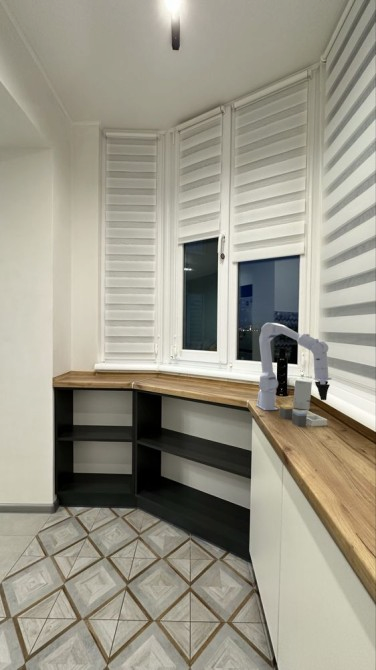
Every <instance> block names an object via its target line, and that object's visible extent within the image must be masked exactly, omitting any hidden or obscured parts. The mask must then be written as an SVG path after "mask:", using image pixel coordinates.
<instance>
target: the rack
mask: <svg viewBox="0 0 376 670" xmlns="http://www.w3.org/2000/svg"><path fill="white" fill-rule="evenodd" d="M302 411H303V412H305V413H307V418H306V425H308V426H311V427H320V426H323V425H324V426H328V419H327V418H324V417H322V416H320V415H318V414H316V413H314V412H311V411H310V410H305V409H302ZM292 417H293V413H292ZM324 426H323V427H324Z"/></svg>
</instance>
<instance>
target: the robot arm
mask: <svg viewBox="0 0 376 670" xmlns="http://www.w3.org/2000/svg"><path fill="white" fill-rule="evenodd" d="M260 329H261V331H260V334H259V337H258V340H259V341H258V342H259V352H260V362H261V372H262V373H261V374H260V376H259V382H258V388H259V389H260V390H258V393H257V403H256V404H255V406H256V407H258V408H260V409H262V410H263V411H278V410H279V408H277V407H276V395H277V393H276V392H277V389H278V387H279V381H278V378H277V375H276V373H275V372H274V368H273V367H274V366H273V357H272V349H271V341H272V340H273V339H274V338H275V337H277V336H279V335H285V336H287V337H289V338H291V339H293V340H295V341H296V342H297V344H298V345H299V346H301V347H303V348H305V349H307V350H309V351H310V352H311V353H312V355H313V357H312V358H313V369H314V370H313V371H314V378H313V379H314V384H315V387H316V388H317V392H318V395H319V399H320V401H326V400H327V398H328V397H327V396H328V391H329V387H330V386H331V385H330V384H329V381H331V380H332V377H329V365H328V356H327V355H328V354H327V353H328V351H329V346H328V344H327V343H326V342H325V341H319V338H314V337H313V336H310V334H309V333H302V334H300V333H298V332H296V331H294V330H293V329H291V328H289V327H288V326H286V325H284V324H281V323H279V322H266V323H264V324H263V325H262V326H261V328H260Z"/></svg>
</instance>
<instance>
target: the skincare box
mask: <svg viewBox="0 0 376 670" xmlns="http://www.w3.org/2000/svg"><path fill="white" fill-rule="evenodd" d="M312 386H313V381H312V380H309V379H301V378H295V383H294V391H293V392H294V393H293V401H292V402H293V404H292V407H293V409H298V410H307V411H310V407H311V396H312Z"/></svg>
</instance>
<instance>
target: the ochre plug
mask: <svg viewBox="0 0 376 670" xmlns="http://www.w3.org/2000/svg"><path fill="white" fill-rule="evenodd" d="M293 409H294V408H293V405H292V406H291V405H289V404H280V409H279V417H280V418H282V419H284V420H289V419H292V420H293V416H292V413H293V411H294V410H293Z"/></svg>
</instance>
